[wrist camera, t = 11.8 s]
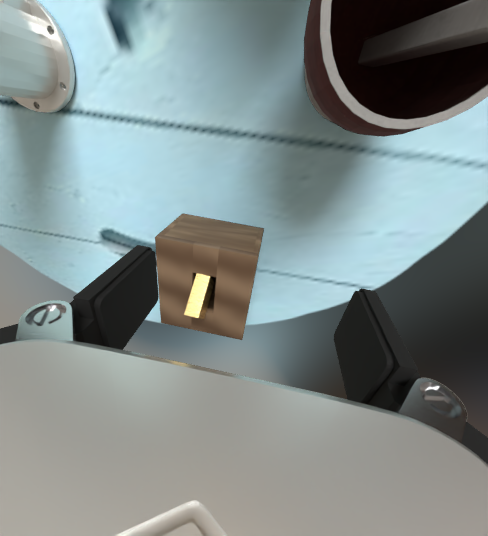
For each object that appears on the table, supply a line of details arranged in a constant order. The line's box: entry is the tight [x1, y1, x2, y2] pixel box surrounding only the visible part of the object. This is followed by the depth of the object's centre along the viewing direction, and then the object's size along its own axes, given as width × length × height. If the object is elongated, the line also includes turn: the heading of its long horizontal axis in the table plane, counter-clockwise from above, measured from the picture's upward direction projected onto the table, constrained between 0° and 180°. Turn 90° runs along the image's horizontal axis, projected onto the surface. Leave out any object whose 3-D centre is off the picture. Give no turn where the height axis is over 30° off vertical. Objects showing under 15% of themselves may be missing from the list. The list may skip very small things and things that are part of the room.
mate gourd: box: [304, 0, 488, 136], centre depth 19 cm, size 16×14×20 cm
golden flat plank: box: [184, 273, 214, 319], centre depth 35 cm, size 5×2×6 cm
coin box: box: [155, 214, 264, 340], centre depth 40 cm, size 16×14×10 cm
